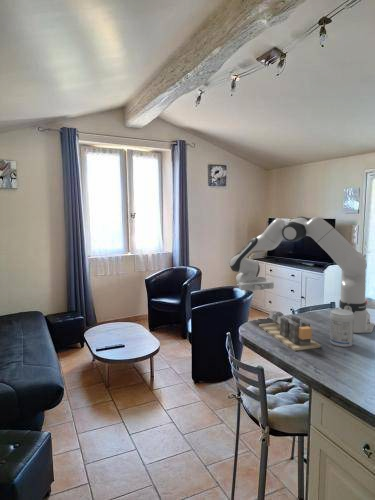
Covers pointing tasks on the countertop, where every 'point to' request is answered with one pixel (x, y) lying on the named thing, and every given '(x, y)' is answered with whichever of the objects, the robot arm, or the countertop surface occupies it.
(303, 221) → the robot arm
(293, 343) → the wooden board
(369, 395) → the countertop surface
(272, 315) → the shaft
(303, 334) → the orange block
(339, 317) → the supplement tub
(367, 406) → the countertop surface
